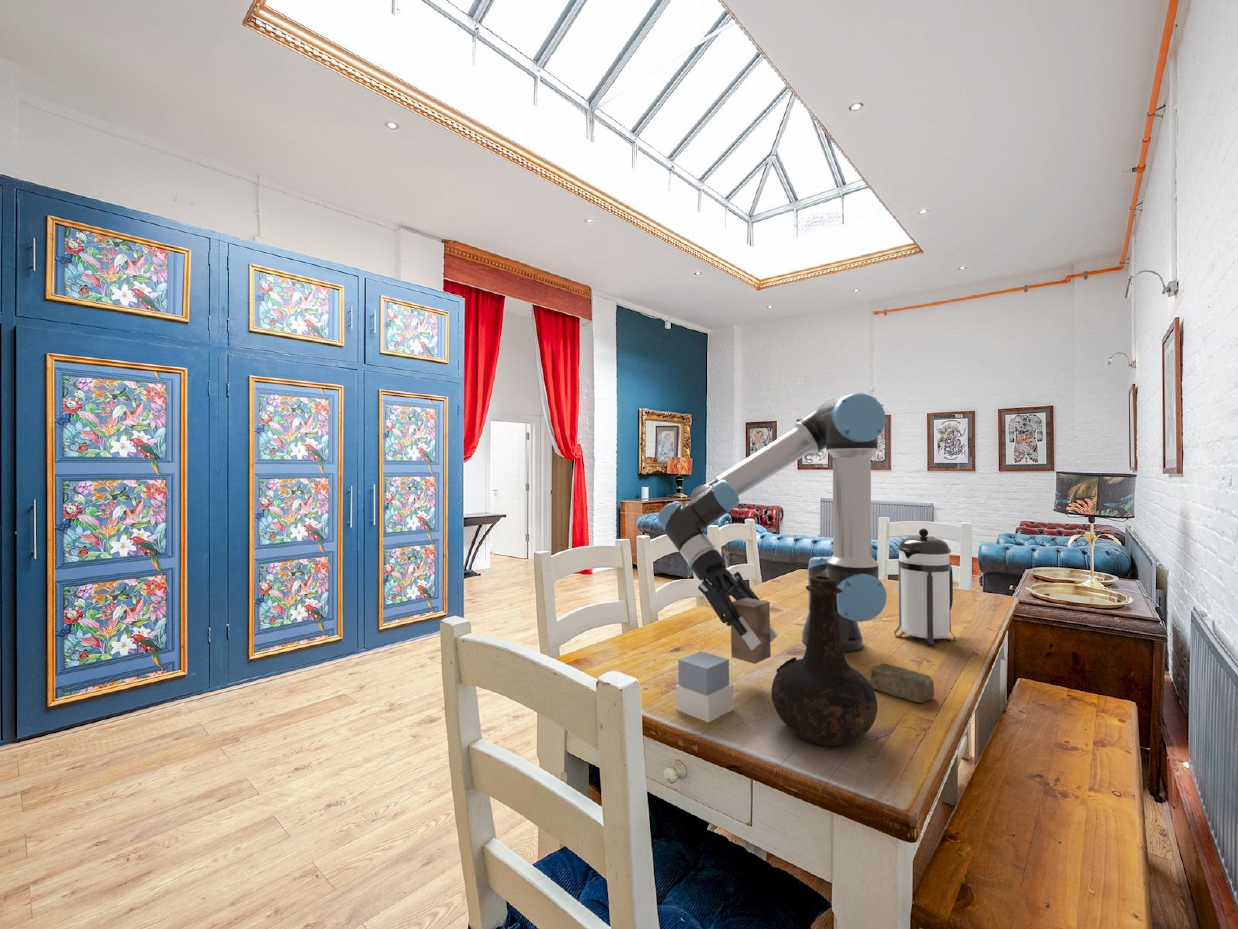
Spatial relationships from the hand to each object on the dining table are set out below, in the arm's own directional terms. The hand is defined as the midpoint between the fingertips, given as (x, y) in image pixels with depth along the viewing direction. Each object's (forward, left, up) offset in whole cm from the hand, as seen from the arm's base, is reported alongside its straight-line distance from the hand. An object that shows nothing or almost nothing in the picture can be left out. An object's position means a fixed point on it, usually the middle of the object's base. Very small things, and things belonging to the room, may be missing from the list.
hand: (765, 642), depth 121 cm
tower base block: (+11, +14, -10) cm, 20 cm away
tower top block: (+11, +14, -5) cm, 19 cm away
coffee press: (-41, -48, -10) cm, 64 cm away
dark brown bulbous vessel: (-11, +18, -10) cm, 23 cm away
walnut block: (+3, -2, -4) cm, 5 cm away
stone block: (-27, -5, -10) cm, 29 cm away
